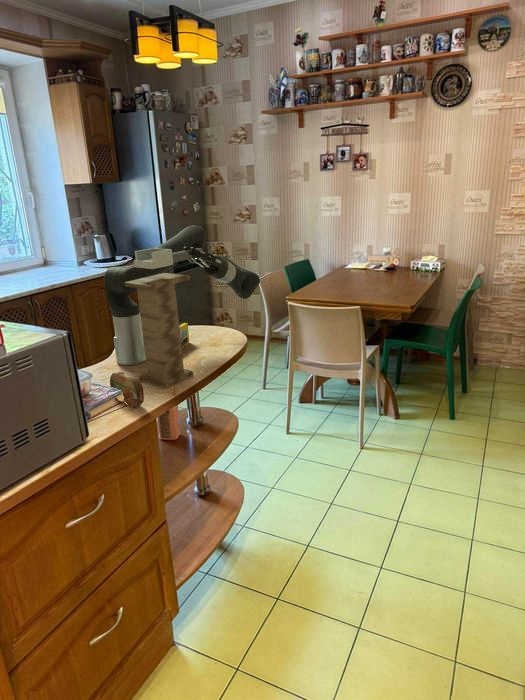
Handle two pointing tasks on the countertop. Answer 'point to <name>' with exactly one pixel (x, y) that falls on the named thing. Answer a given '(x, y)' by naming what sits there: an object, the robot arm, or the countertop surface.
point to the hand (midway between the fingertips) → (187, 250)
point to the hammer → (160, 257)
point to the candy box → (184, 334)
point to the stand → (161, 329)
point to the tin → (128, 388)
